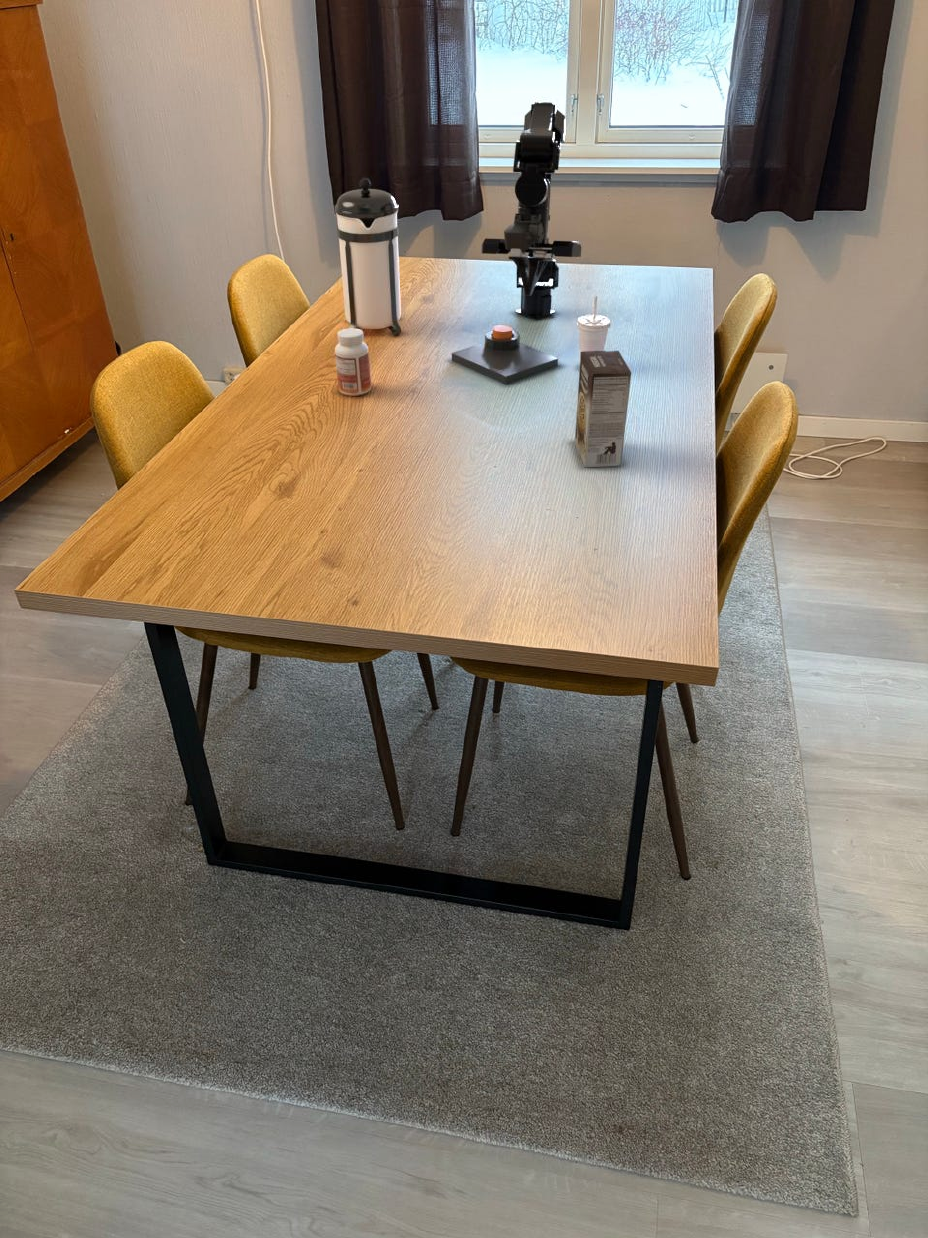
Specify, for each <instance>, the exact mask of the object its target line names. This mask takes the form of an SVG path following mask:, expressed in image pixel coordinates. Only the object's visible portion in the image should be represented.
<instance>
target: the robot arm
mask: <svg viewBox="0 0 928 1238" xmlns="http://www.w3.org/2000/svg"><path fill="white" fill-rule="evenodd" d="M557 106H558V105H557V103H554V102H553V101H551V102H550V101H535V102H534V103H533V102H532V103H531V106H530V110H529V111H528V112H526V114H525V115H524V121H523V131H522V132H520V135H519V139H518V140H515V149H514V158H513V166H512V167H513V168H512V173H513V174H520V176H518V178H517V180H516V182H515V185H514V194H515V197H516V199H517V201H518V205H517V206H518V207H517V213H515V214H514V221H513V223H512V224H510V225H509V226H508V227H506V228H505V229H504V231H503V236H504V238H486V237H485V238H484V240H483V241H482V242H481V254H482V255H483V254H486V255H487V254H488V255H508V254H509V256H508V257H507V258H508V260H510V261H513V263H514V264H515V266H516V289H521V290H520V308H519V309H516V310H515V314H517V315H520V316H523V317H526V318H528V319H531V320H533V321H534V320H539V319H543V318H546V317H548V316H552V315H555V314H556V311H555V310H552V299H553V298H552V297H553V296H552V290H555V289H556V288H559V283H560V282H559V280H560V267H559V266H558V263H557V259H554V258H555V257H560V258H561V257H562V258H563V257H564V258H581V257H582V244H581V243H580V241H574V240H571V241H570V240H553V242H552V243H550V242H549V240H550V239H549V224H550V221H551V215H550V207H551V192H552V190H551V189H552V177H553V176H552V175H555V174H556V171H559V165H560V156H561V150H562V144H565V138H566V115H565V114H563V113H562V112H561V111H560V110H558V108H557Z"/></svg>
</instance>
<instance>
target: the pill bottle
mask: <svg viewBox="0 0 928 1238" xmlns="http://www.w3.org/2000/svg"><path fill="white" fill-rule="evenodd" d="M364 339H365V337H364V331H363V329H356V328H355V327H354V328H349V327H348V328H347V327H346V328H342V329H340V330H338V332H337V344H336V345H335V347H334V356H335V366H336V367H335V368H336V377H337V387H338V392H339V393H341V394H343V395H344V396H348V397H349V396H350V397H357V396H362V395H365V394H367V393H369V392H370V391H371V389H372V377H371V367H370V365H371V364H370V352H369V351H370V350H369V346H368V344H366V343H365V341H364Z"/></svg>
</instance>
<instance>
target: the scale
mask: <svg viewBox="0 0 928 1238" xmlns="http://www.w3.org/2000/svg"><path fill="white" fill-rule="evenodd" d="M451 362H454V363H456V364H458V365H461V366H462V367H464V368H467V369H470V370H471V371H473V372H476V373H478V374H481V375H483V376H484V377H487V378H489V379H492V380H493V381H496V382H498V383H500V384H502V385H505V386H507V385H509V384H512V383H515V382H518V381H520V380H523V379H526V378H529V377H532V376H534V375H538V374H540V373H543V372H545V371H549V370H551V369H554V368H556V367H558V364H559V358H558V357H556V356H553V355H551V354H548V353H546V352H543V351H541V350H538V349H535V348H533V347H531V346H529V345H525V344H524V343H521V335H520V333H519V332H518V331H516V330H513V332H512V338H509V339H496V338H493V329H491V330H489V331H487V332H486V333H485V334H484V342H481V343H479V344H476V345H472V346H469V347H466V348H464V349H460V350H457V351H454V352H451Z"/></svg>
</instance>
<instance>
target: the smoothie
mask: <svg viewBox="0 0 928 1238" xmlns="http://www.w3.org/2000/svg"><path fill="white" fill-rule="evenodd" d="M597 306H598V295H594V296H593V307H592V308H593V309H592V314H585V315H582V316H580V317H578V318H577V323H576V326H577V327H578V340H579V341H578V342H579V343H578V345H579V359H580V358H581V352H584V351H605V345H606V341H607V337H608V333H609V332H608V331H609V329H610V328H611V322H612V321H611V319H610V318H609V317H606V316H605V315H602V314H601V315H600V314H597Z"/></svg>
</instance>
